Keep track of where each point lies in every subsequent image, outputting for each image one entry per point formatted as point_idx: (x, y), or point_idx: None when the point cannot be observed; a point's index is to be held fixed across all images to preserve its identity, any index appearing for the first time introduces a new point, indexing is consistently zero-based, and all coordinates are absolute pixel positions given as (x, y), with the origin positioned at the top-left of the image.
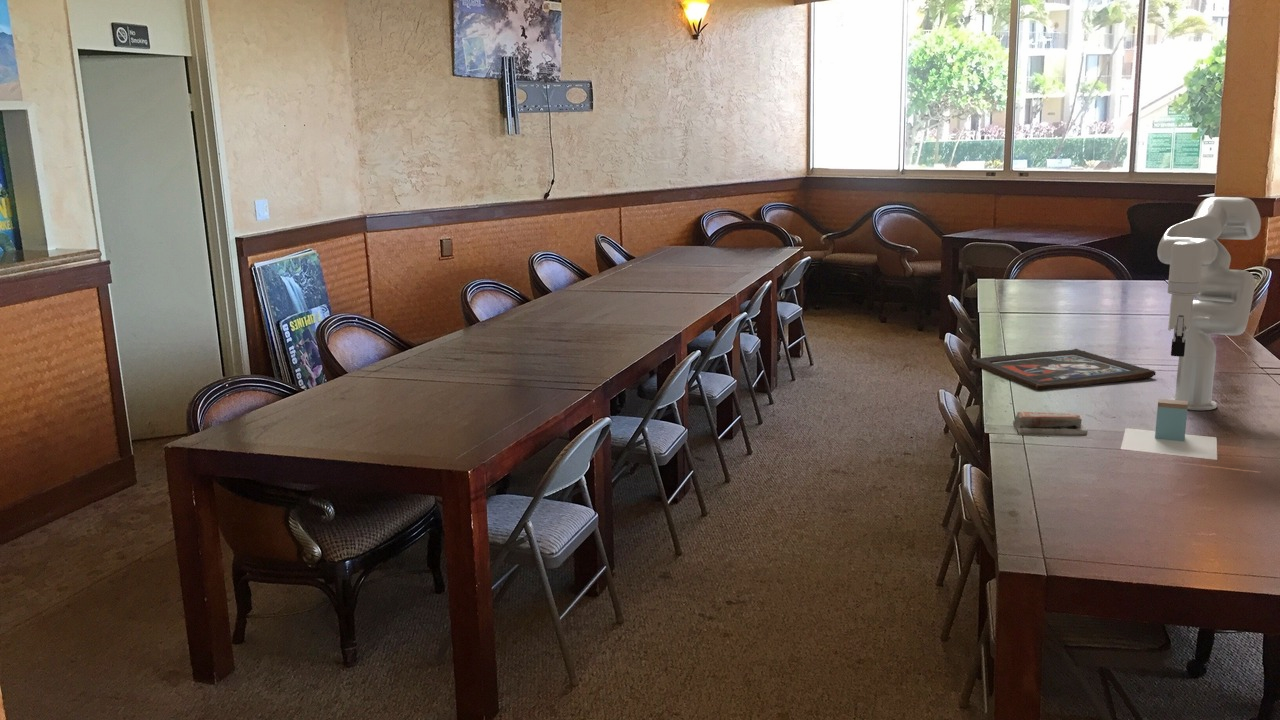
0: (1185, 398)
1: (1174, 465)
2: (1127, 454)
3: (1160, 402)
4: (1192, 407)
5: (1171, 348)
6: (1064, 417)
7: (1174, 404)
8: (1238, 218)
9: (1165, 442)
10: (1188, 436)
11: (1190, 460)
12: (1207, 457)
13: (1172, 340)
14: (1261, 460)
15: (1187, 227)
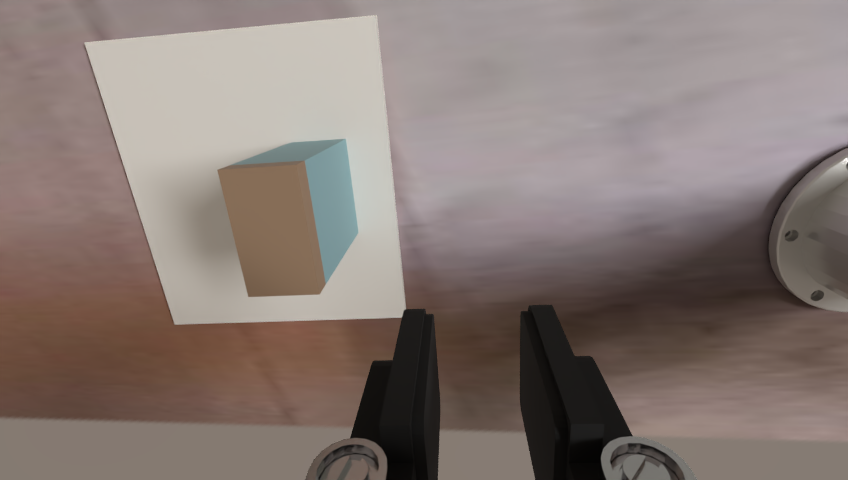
0: (840, 214)
1: (60, 223)
2: (64, 74)
3: (222, 181)
4: (777, 235)
5: (396, 353)
6: None
7: (236, 243)
8: None
9: None
10: (374, 242)
11: (139, 260)
12: (179, 301)
13: (568, 410)
14: (257, 410)
15: None
